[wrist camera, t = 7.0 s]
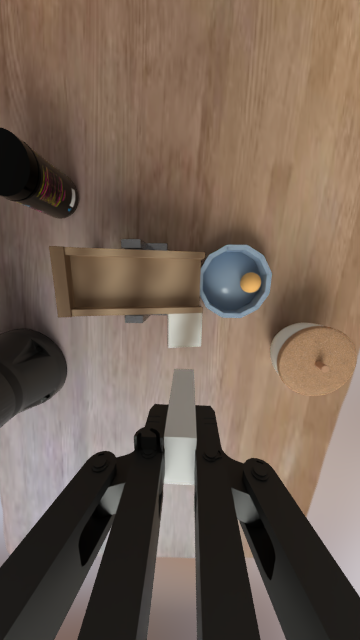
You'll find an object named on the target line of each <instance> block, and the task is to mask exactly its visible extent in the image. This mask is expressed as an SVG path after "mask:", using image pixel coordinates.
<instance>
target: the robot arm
mask: <svg viewBox="0 0 360 640" xmlns="http://www.w3.org/2000/svg"><path fill="white" fill-rule="evenodd" d="M66 375H67V367H66V362H65V359H64V357H63V354H62V353H61V351H60V349H59V348H58V347H57V346H56V344H55V343H54V342H53V341H51V340H50V339H49V338H48V337H46V336H44V335H43V334H41V333H39V332H36V331H33V330H28V329H16V330H12V331H9V332H6V333H3V334H0V427H2V426H3V425H4V424H5V423H6V422H8V421H9V420H10V419H11V418H12V417H14V416H15V415H16V414H18V413H20V412H22V411H25V410H27V409H29V408H32V407H34V406H37V405H39V404H41V403H44V402H45V401H47V400H49V399H50V398H51V397H53V396H54V395H55V394H56V393H57V392H58V391H59V390H60V389H61V388H62V386H63V385H64V382H65V380H66ZM134 448H135V451H133V452H132V453H130V454H128V455H125V456H121V457H117V458H116V457H115V455H114V454H113V453H111V452H109V451H102V452H98V453H96V454H95V455H93V456H92V457H90V458H89V459H88V460H87V462H86V463H85V464H84V465H83V467H82V468H81V469H80V470H79V471H78V473H77V474H76V475H75V476H74V478H73V479H72V480H71V481H70V483H69V484H68V485H67V486H66V487H65V489H64V490H63V491H62V492H61V494H60V495H59V496H58V497H57V499H56V500H55V501H54V502H53V503H52V505H51V506H50V507H49V508H48V510H47V511H46V512H45V513H44V515H43V516H42V517H41V518H40V519H39V521H38V522H37V523H36V524H35V526H34V527H33V528H32V529H31V531H30V532H29V533H28V534H27V535H26V537H25V538H24V539H23V540H22V542H21V543H20V544H19V545H18V547H17V548H16V549H15V550H14V551H13V553H12V554H11V555H10V556H9V558H8V559H7V560H6V561H5V563H4V564H3V565H2V566H1V567H0V640H54V639H55V637H56V635H57V633H58V631H59V629H60V627H61V625H62V623H63V621H64V619H65V617H66V615H67V613H68V611H69V609H70V607H71V605H72V603H73V601H74V599H75V597H76V595H77V593H78V591H79V590H80V587H81V586H82V584H83V582H84V580H85V578H86V576H87V574H88V571H89V570H90V567H91V566H92V564H93V562H94V560H95V558H96V556H97V554H98V552H99V550H100V548H101V546H102V544H103V542H104V540H105V538H106V536H107V534H108V532H109V530H110V528H111V531H110V534H109V537H108V540H107V544H106V547H105V550H104V554H103V557H102V560H101V564H100V567H99V570H98V573H97V577H96V580H95V583H94V587H93V590H92V593H91V597H90V600H89V603H88V606H87V610H86V613H85V616H84V619H83V623H82V626H81V629H80V633H79V636H78V640H147V632H148V624H149V615H150V607H151V598H152V589H153V580H154V572H155V563H156V554H157V546H158V537H159V528H160V520H161V511H162V502H163V485H164V483H167V484H184V485H195V494H194V511H195V557H196V606H197V608H196V609H197V640H260V635H259V630H258V624H257V619H256V614H255V609H254V604H253V598H252V593H251V588H250V583H249V578H248V573H247V567H246V563H245V557H244V551H243V546H242V541H241V536H240V531H239V525H238V520H239V521H240V524H241V527H242V529H243V532H244V534H245V537H246V539H247V542H248V544H249V547H250V549H251V552H252V554H253V557H254V559H255V562H256V564H257V567H258V569H259V572H260V575H261V577H262V580H263V582H264V585H265V587H266V590H267V592H268V595H269V597H270V600H271V602H272V605H273V607H274V610H275V612H276V615H277V617H278V620H279V622H280V625H281V627H282V630H283V632H284V635H285V638H286V640H360V597H359V595H358V594H357V592H356V591H355V589H354V588H353V586H352V585H351V584H350V582H349V581H348V579H347V578H346V576H345V575H344V573H343V572H342V570H341V569H340V567H339V566H338V564H337V563H336V561H335V560H334V558H333V557H332V555H331V554H330V552H329V551H328V549H327V548H326V546H325V545H324V544H323V542H322V540H321V539H320V537H319V536H318V535H317V533H316V532H315V530H314V529H313V527H312V526H311V524H310V523H309V521H308V520H307V518H306V517H305V515H304V514H303V512H302V511H301V509H300V508H299V506H298V505H297V503H296V502H295V500H294V499H293V497H292V496H291V494H290V493H289V492H288V490H287V489H286V487H285V486H284V484H283V483H282V481H281V480H280V478H279V477H278V475H277V474H276V472H275V471H274V469H273V468H272V467H271V466H270V465H269V464H268V463H266V462H265V461H263V460H260V459H257V458H251V459H248V460H246V462H245V463H241V462H238V461H235V460H233V459H231V458H230V457H228V456H227V455H226V454H225V453H224V451H223V450H222V448H221V444H220V438H219V433H218V427H217V422H216V416H215V411H214V410H213V409H212V408H211V406H199V405H195V388H194V370H192V369H174V375H173V381H172V388H171V394H170V400H169V405H163V404H154V406H153V407H152V408H151V409H150V411H149V415H148V418H147V422H146V425H145V427H143V428H141V429H140V430H138V431H137V432H136V434H135V435H134ZM237 519H238V520H237ZM111 526H112V527H111Z"/></svg>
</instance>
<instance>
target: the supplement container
mask: <svg viewBox="0 0 360 640" xmlns="http://www.w3.org/2000/svg"><path fill="white" fill-rule="evenodd" d="M0 196H2V197H4V198H6V199H8V200H11V201H15V202H17V203H20V204H22V205H25V206H27V207H29V208H32V209H34V210H37V211H39V212H42V213H44V214H47V215H49V216H52V217H54V218H66V217H68V216H70V215H71V214H73V212H74V211H75V210H76V208H77V205H78V193H77V189H76V187H75V185H74V183H73V182H72V181H71V179H70V178H69V177H67V176H66V175H65V174H64V173H62V172H61V171H60V170H58V169H57V168H56V167H55V166H53V165H52V164H51V163H50V162H48V161H47V160H46V159H44V158H43V157H42V156H41V155H39V154H38V153H37V152H35V151H34V150H33V149H32V148H30V147H29V146H28V145H27V144H26V143H25V142H24V141H22V140H21V139H19V138H18V137H17V136H16V135H14V134H13V133H12V132H10V131H8V130H6V129H4V128H0Z"/></svg>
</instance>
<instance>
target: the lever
mask: <svg viewBox="0 0 360 640" xmlns="http://www.w3.org/2000/svg"><path fill="white" fill-rule="evenodd" d="M49 250H50V258H51V265H52V273H53V281H54V288H55V296H56V304H57V311H58V317H72V316H105V315H145V314H168V348H179V347H196V346H201V333H202V311H203V307H201V306H199V301H200V275H201V259H205V252H186V251H158V250H130V249H102V248H74V247H57V246H49Z"/></svg>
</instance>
